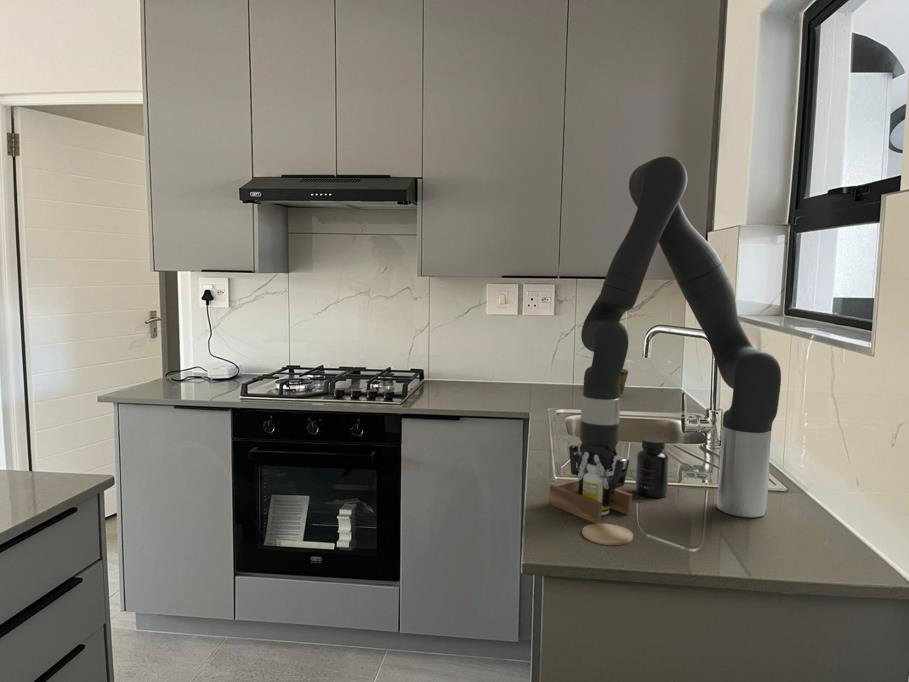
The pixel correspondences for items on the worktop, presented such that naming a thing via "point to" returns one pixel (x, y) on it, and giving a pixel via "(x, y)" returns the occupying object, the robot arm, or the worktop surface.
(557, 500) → the frame
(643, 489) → the supplement bottle
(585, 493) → the supplement bottle
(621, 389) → the ceramic cup
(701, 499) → the worktop surface
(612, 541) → the coaster
